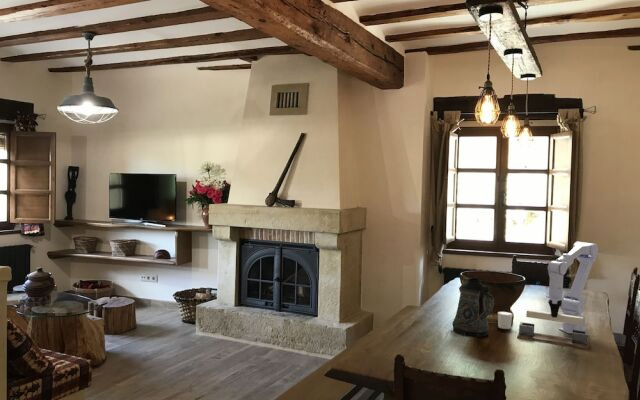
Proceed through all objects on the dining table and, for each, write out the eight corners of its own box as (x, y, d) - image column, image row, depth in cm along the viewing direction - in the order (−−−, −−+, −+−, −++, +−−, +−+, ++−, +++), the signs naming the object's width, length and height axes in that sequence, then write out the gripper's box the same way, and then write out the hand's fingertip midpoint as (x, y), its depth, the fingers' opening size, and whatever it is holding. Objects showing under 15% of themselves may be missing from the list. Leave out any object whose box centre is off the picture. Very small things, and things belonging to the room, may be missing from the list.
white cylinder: (502, 329, 258) (503, 315, 258) (494, 325, 265) (494, 311, 264) (514, 329, 260) (515, 314, 260) (506, 325, 267) (507, 311, 266)
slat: (582, 323, 247) (583, 317, 247) (582, 325, 244) (583, 318, 244) (526, 315, 258) (527, 309, 257) (526, 317, 255) (526, 310, 255)
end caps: (587, 341, 240) (587, 331, 240) (587, 345, 234) (587, 335, 234) (520, 331, 252) (520, 322, 252) (518, 334, 246) (519, 325, 246)
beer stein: (457, 325, 263) (460, 274, 262) (498, 332, 253) (501, 279, 252) (447, 333, 249) (450, 279, 248) (490, 340, 239) (493, 284, 238)
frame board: (588, 342, 241) (588, 340, 241) (588, 348, 232) (588, 346, 232) (519, 332, 254) (519, 330, 254) (517, 337, 245) (517, 335, 245)
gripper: (547, 283, 259) (546, 311, 259) (545, 288, 246) (544, 318, 246) (563, 285, 256) (562, 313, 256) (562, 290, 243) (561, 320, 243)
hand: (554, 316), depth 251 cm, fingers closed on slat, 3 cm apart
